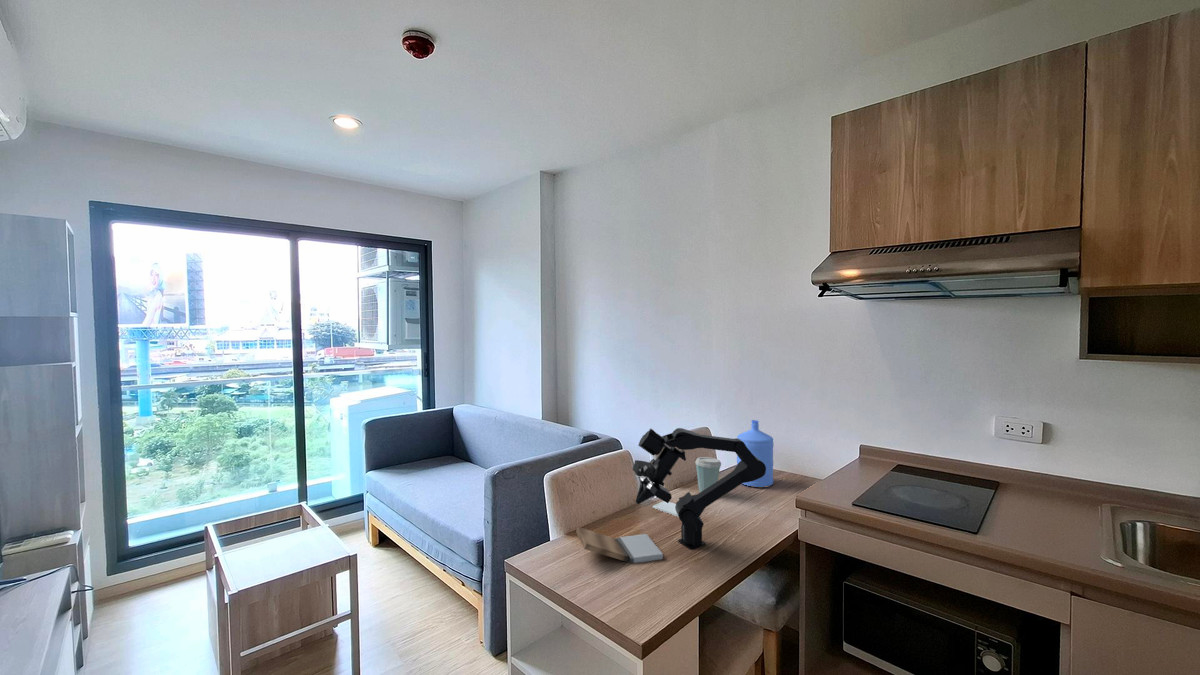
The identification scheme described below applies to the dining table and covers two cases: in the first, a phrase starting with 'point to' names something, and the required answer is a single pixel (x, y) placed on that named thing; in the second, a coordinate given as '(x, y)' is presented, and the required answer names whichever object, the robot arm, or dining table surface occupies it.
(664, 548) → the dining table surface
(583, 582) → the dining table surface
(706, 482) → the disposable coffee cup
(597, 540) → the plank
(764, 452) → the water jug
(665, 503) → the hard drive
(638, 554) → the base board
